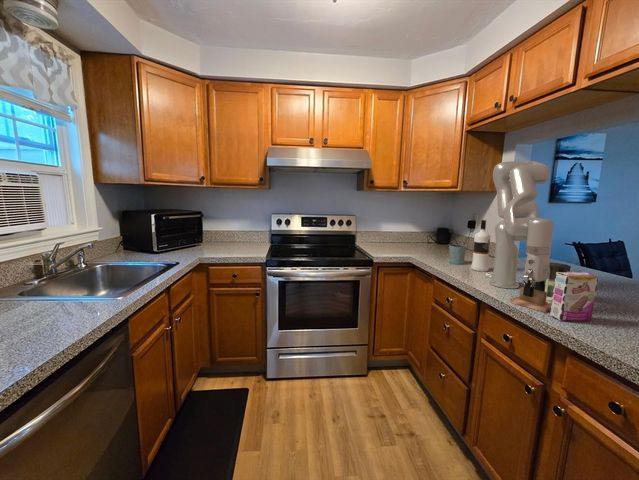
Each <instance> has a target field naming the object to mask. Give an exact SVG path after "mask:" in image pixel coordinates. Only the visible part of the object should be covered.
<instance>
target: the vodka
mask: <svg viewBox="0 0 639 480" xmlns="http://www.w3.org/2000/svg"><path fill="white" fill-rule="evenodd" d="M486 226H487V219H482V220H481V221H480V231H478V232H477V233H475V234H474V236H473V237H474V239H473V241H474V242H473V252H472V261H471V265H470V268H471V270H472V271H474V272H482V273H485V272H486V273H487V272H489V269H490V267H489V256H490V254H489V253H490V245H491V244H490V243H491V238H492V237H491V234H489V233H488V232H487V231H486Z"/></svg>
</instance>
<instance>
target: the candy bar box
mask: <svg viewBox="0 0 639 480" xmlns="http://www.w3.org/2000/svg"><path fill="white" fill-rule="evenodd" d="M598 280H599V275H596V274H593V273H588V272H575V271H574V272H573V271H572V272H571V271H570V272H556V277H555V283H554V290H553V297H552V304H551V310H550V311H549V316H550V317H552V318H554V319H555V320H558V321H559V322H591V321H592V316H593V310H594V304H595V298H596V293H597V286H598Z"/></svg>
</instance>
